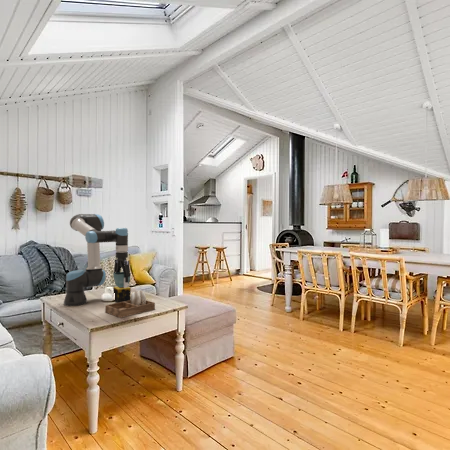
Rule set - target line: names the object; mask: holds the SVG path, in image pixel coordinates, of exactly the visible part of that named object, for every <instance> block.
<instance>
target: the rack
mask: <svg viewBox="0 0 450 450" xmlns="http://www.w3.org/2000/svg"><path fill="white" fill-rule="evenodd" d="M130 297H131V299H130V300H129V301H124V302H119V303H117V302H114V303H110V304H106V305H105V306H104V307H105V309H104V311H105V313H106V314H109V315H112V316H114V317H117V318H119V319H121V318H125V317H129V316H133V315H137V314H140V313H141V314H142V313H145V312H149V311H153V310H155V309H156V307H155V306H156V303H155V302H154V301H151V300H148V299H147V298H146V297H147V296H146V294H145V292H144V291H143V290H138V291H133V292H132V293H130Z"/></svg>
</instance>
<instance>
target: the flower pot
mask: <svg viewBox="0 0 450 450" xmlns="http://www.w3.org/2000/svg"><path fill="white" fill-rule="evenodd" d="M112 274H113V280H114V284H115V286H116V285H117V286H116V287H119V288H121V287H124V273H123V271H120V272H117V273H114V272H113V273H112ZM128 275H129V274H128ZM130 280H131V272H130V277H128V285H129V284H130Z"/></svg>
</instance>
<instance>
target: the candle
mask: <svg viewBox="0 0 450 450" xmlns="http://www.w3.org/2000/svg"><path fill="white" fill-rule="evenodd" d="M131 289H132V288H131V287H129V286H128V287H126V288H124V287H121V288H119V287H118V286H114V287H113V289H112V290H113V294H114V293H115V301H114V303H119V302H124V301H129V300H131V294H132V293H131V292H132V291H131Z"/></svg>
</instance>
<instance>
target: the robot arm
mask: <svg viewBox="0 0 450 450" xmlns="http://www.w3.org/2000/svg"><path fill="white" fill-rule="evenodd" d="M69 226H70V228H71V229H72V230H73V231H75V232H79V233H80V234H82V235H83V236H84V237H85V241H86V245H87V247H86V248H87V252H86V253H87V267H86V268H85V270H83V269H79V270H78V269H76V270H72V271H69V272H67V273H66V278H65V281H66V283H65V284H66V294H65V297H64V300H63V305H64V306H68V307H74V306H81V305H82V306H83V305H85V304H87V302H88V299H87V296H86V294H85V288H93V287H99V286H103V284H105V281H106V278H107V275H106V274H107V273H106V270H104V269H103V266H101V249H100V247H101V246H100V244H101V243H115V258H116V259H114V267H113V273H117V272H121V271H122V272H123V273H124V288H126V287H129V284H128V277H130V278H131V275H130V273H131V269H130V268H131V267H130V261H129V260H127V258H129V253H128V251H129V233H128V232H129V231H128V228H126V227H116V228H115V230H103V229H104V227H105V221H104V218H103V216H102V215H100V214H95V213H91V214H90V213H78V214H75V215H74V216H72V218H71V219H70V220H69ZM128 274H129V275H128ZM115 287H118V286H117V285H116V284H115Z"/></svg>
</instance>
